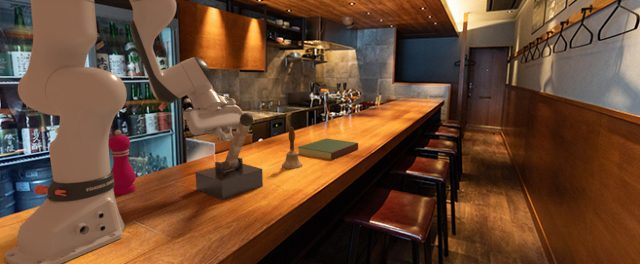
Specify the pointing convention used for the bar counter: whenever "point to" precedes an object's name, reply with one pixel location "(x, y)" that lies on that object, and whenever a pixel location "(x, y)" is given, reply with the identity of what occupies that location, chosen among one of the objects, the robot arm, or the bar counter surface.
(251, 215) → the bar counter surface
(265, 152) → the bar counter surface
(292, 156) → the hand bell
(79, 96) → the robot arm
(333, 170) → the bar counter surface
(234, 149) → the lever
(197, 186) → the base
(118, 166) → the pepper mill
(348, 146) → the hardcover book
